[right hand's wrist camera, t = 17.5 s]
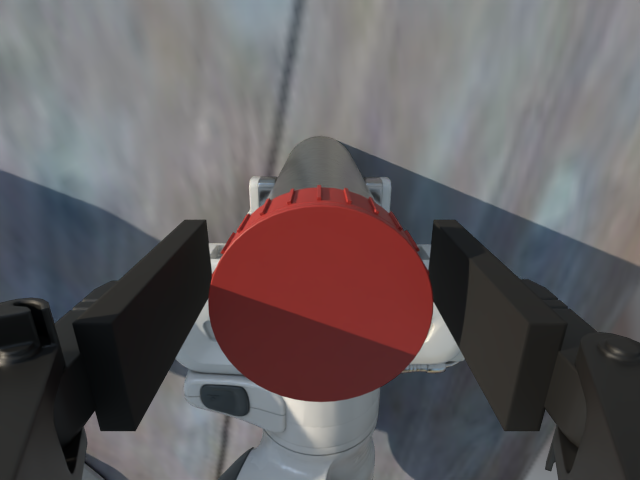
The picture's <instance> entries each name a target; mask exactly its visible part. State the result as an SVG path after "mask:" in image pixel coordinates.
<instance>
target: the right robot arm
mask: <svg viewBox="0 0 640 480" xmlns="http://www.w3.org/2000/svg"><path fill="white" fill-rule="evenodd" d="M428 271H429V277H430V281H431V285H432V291H433V300H434V304H435V306H436V307H437V309H438V311H439V313H440V315H441V316H442V318H443V320H444V322H445V324H446V326H447V327H448V329H449V331H450V333H451V335H452V336H453V338H454V340H455V342H456V344H457V346H458V347H459V349H460V351H461V353H462V355H463V356H464V358H465V360H466V362H467V364H468V365H469V367H470V369H471V371H472V373H473V375H474V376H475V378H476V380H477V382H478V384H479V385H480V387H481V389H482V391H483V393H484V395H485V396H486V398H487V400H488V402H489V404H490V405H491V407H492V409H493V411H494V413H495V415H496V416H497V418H498V420H499V422H500V424H501V425H502V427H503V429H504V431H540V427H541V423H542V419H543V416H544V412H545V409H546V410H547V412H548V413H549V415H550V416H551V417H552V419H553V420H554V422H555V423H556V424H557V426H556V429H555V433H554V436H553V440H552V443H551V447H550V451H549V454H548V457H547V461H546V467H545V469H546V470H548V471H551V470H552V466H553V463H554V462H556V467H557V474H558V480H640V343H639V342H637V341H634V340H632V339H630V338H627V337H623V336H619V335H616V334H611V333H602V332H597V331H596V330H594V329H593V328H592V327H591V326H590V325H589V324H587V323H586V322H585V321H584V320H583V319H582V318H580V317H579V316H578V315H577V314H576V313H575V312H573V311H572V310H571V309H568V307H567V306H566V305H565V304H564V303H563V302H562V301H560V300H558V298H557V297H556V296H555V295H553V294H552V293H551V292H550V291H549V290H548V289H546V288H545V287H543V286H541V285H539V284H537V283H535V282H533V281H531V280H529V279H519V278H518V277H517V276H516V275H515V274H514V273H513V272H512V271H510V270H509V269H508V268H507V267H506V266H505V265H504V264H503V263H502V262H501V261H500V260H498V259H497V258H496V257H495V256H494V255H493V254H492V253H491V252H490V251H489V250H488V249H486V248H485V247H484V246H483V245H482V244H481V243H480V242H479V241H478V240H477V239H476V238H475V237H473V236H472V235H471V234H470V233H469V232H468V231H467V230H466V229H465V228H464V227H463V226H461V225H460V224H459V223H458V222H457V221H456V220H434V223H433V232H432V241H431V250H430V259H429V268H428ZM211 276H212V268H211V259H210V250H209V241H208V232H207V223H206V220H184V221H183V222H182V223H181V224H180V225H179V226H177V227H176V228H175V229H174V230H173V231H172V232H171V233H170V234H169V235H168V236H167V237H165V238H164V239H163V240H162V241H161V242H160V243H159V244H158V245H157V246H156V247H155V248H154V249H152V250H151V251H150V252H149V253H148V254H147V255H146V256H145V257H144V258H143V259H142V260H140V261H139V262H138V263H137V264H136V265H135V266H134V267H133V268H132V269H131V270H130V271H128V272H127V273H126V274H125V275H124V276H123V277H122V278H121V279H120V280H119V281H110V282H108V283H106V284H104V285H102V286H100V287H98V288H96V289H94V290H93V291H92V292H91V293H90V294H89V295H87V296H86V297H85V298H84V299H83V301H82V302H79V303H78V304H77V305H76V306H75V307H73V310H70V311H69V312H68V313H66V314H65V315H64V316H63V317H62V318H61V319H59V320H58V321H57V322H56V323H55V324H54V321H53V317H52V314H51V310H50V307H49V303H48V302H47V301H45V300H43V299H38V298H23V299H15V300H10V301H6V302H2V303H0V480H82V475H83V468H84V462H85V455H86V449H87V437H86V433H85V429H84V425H85V424H86V422H87V421H88V420H89V418H90V417H91V415H92V414H93V413H94V411H95V412H96V416H97V419H98V423H99V427H100V431H136V429H137V427H138V425H139V424H140V422H141V420H142V418H143V416H144V415H145V413H146V411H147V409H148V407H149V405H150V404H151V402H152V400H153V398H154V396H155V395H156V393H157V391H158V389H159V387H160V385H161V384H162V382H163V380H164V378H165V376H166V375H167V373H168V371H169V369H170V367H171V365H172V364H173V362H174V360H175V358H176V356H177V355H178V353H179V351H180V349H181V347H182V346H183V344H184V342H185V340H186V338H187V336H188V335H189V333H190V331H191V329H192V327H193V326H194V324H195V322H196V320H197V318H198V316H199V315H200V313H201V311H202V309H203V307H204V306H205V304H206V302H207V300H208V297H209V288H210V284H211V280H212V277H211Z"/></svg>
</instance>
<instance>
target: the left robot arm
mask: <svg viewBox="0 0 640 480" xmlns="http://www.w3.org/2000/svg"><path fill="white" fill-rule="evenodd" d="M363 179H364V181H365V183H366V184H367V186H368V188H369V190H370V192H371V194H372V196H373V198H374V200H375V202H376V204H378V205H379V206H381V207H382V208H384V209H385V210H386V211H387V212H388V213H389V212H390V211H391V210H390V201H391V181H390V179H389V178H388V177H364V178H363ZM276 180H277V177H261V176H256V177H252V178H251V180H250V185H249V192H250V208H251V209H250V210H249V212H248V213H249V214H250V215H251V214H252V213H253V212H254V211H255V210H257V209H258V208H259V207H261V206H262V205H264V203H265V201H266V200H267V198H268V196H269V194H270V192H271V190H272V188H273V186H274V184H275V182H276ZM225 244H226V243H209V250H210V259H211V268H212V273H213V272H214V270H215V268H216V267H217V264H218V262H219V260H220V259H221V257H222V255H223V254H221V251H222V249H223V248H224V246H225ZM416 245H417V246H418V248H419V250H420V251H418V252H417V253H418V254H419V256H420V258H421V259H422V261H423V263H424V264H425V266H426V268H427V269H428V268H429V259H430V250H431V244H416ZM175 359H176V360H177V361H178V362H179V363H180V364H181V365H183V366H184V367H186V368H188V372H187V375H186V379H185V382H184V396H185V399H186V401H187V402H188V403H189V404H190V405H192V406H194V407H197V408H201V409H205V410H209V411H213V412H217V413H220V414H224V415H227V416H231V417H234V418H237V419H240V420H243V421H246V422H248V423H251V424H253V425H256V426H258V427H260V428H263V435H262V439H261V442H260V445H259V446H258V447H257V448H254V447H252V448H251V449H249V450H248V451H246V452H245V453H244V454H243V455H242V456H240V457H239V458H238V459H237V460H236V461H235V462H234V463H233V464H232V465H231V466H230V467H229V468H228V469H227V470H226V471H225V472H224V473H223V474H222V476H221V477H220V478H219V479H218V480H373V475H374V465H375V447H374V442H373V438H372V435H373V432H374V430H375V428H376V424H377V420H378V412H379V398H380V388H378V389H376V390H374V391H372V392H369V393H367V394H364V395H361V396H358V397H354V398H351V399H347V400H340V401H334V402H308V401H301V400H295V399H291V398H287V397H283V396H280V395H278V394H275V393H272V392H270V391H268V390H266V389H264V388H262V387H260V386H258V385H256V384H255V383H253V382H252V381H250V380H249V379H247V378H246V377H245V376H244V375H243V374H242V373H240V372H239V371H238V370H237V369H236V368H235V367H234V366H233V365H232V364H231V362H230V361H229V360H228V359H227V357H226V356H225V355H224V353H223V352H222V350H221V348H220V346H219V345H218V343H217V341H216V339H215V336H214V333H213V330H212V327H211V323H210V318H209V310H208V300H207V302H206V304H205V306H204V307H203V309H202V311H201V313H200V315H199V316H198V318H197V320H196V322H195V324H194V326H193V327H192V329H191V331H190V333H189V335H188V336H187V338H186V340H185V342H184V344H183V346H182V347H181V349H180V351H179V353H178V355H177V356H176V358H175ZM463 360H465V358H464V356H463V355H462V353H461V351H460V349H459V347H458V346H457V344H456V342H455V340H454V338H453V336H452V335H451V333H450V331H449V329H448V327H447V326H446V324H445V322H444V320H443V318H442V316H441V315H440V313H439V311H438V309H437V307H436V306H435V304H434V302H433V316H432V321H431V326H430V329H429V332H428V335H427V338H426V340H425V342H424V344H423V346H422V348H421V350H420V351H419V352H418V354H417V355H416V357H415V358H414V360H413V361H412V362H411V363H410V364H409V365H408V366H407V367H406V369H405V370H403V371H402V372H401V373H411V372H426V373H441V372H445V370H446V367H451V366H453V365H456V364H457V363H459V362H460V361H463Z"/></svg>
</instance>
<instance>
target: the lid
mask: <svg viewBox="0 0 640 480" xmlns="http://www.w3.org/2000/svg"><path fill="white" fill-rule="evenodd" d="M418 251H420V250H419V248H418V246H417V245H416V243H415V242H414V240H413V239H412V237H411V236H410V234H409V232H408V231H407V230H406V231H404V230H403V228H402V227H401V225H400V223H399V222H398V220H397V219H396V217H395V215H394V214H393V213H392V212H391V211H390V212H389V213H388V212H387V211H386V210H385V209H384V208H382V207H381V206H379V205H378V204H376V203H375V202H374V200H373V198H371V197H369V198H366V197H364V196H362V195H359V194H356V193H353V192H350V191H349V190H348V188H344V190H341V189H336V188H325V187H321V185H317V188H305V189H300V190H295V189H294V188H293V189H291V190H290V192H288V193H286V194H283V195H280V196H278V197H276V198H274V199H272V200H270V198H268V199H267V200H266V201H265V203H264V205H262V206H261V207H259V208H258V209H257V210H255V211H254V212H253V213H252V214H251V215H250V214H249V213H248V214H247V215H246V217H245V218H244V220H243V221H242V223H241V225H240V226H239V228H238V230H237V233H236V234H235V233H234V232H233V233H232V235H231V237H230V238H229V240H228V241H227V243H226V244H225V246H224V248H223V249H222V251H221V254H223V255H222V257H221V259H220V260H219V262H218V264H217V267H216V268H215V270H214V272H213V273H212V276H211V277H212V280H211V284H210V288H209V297H208V310H209V318H210V323H211V327H212V330H213V333H214V336H215V339H216V341H217V343H218V345H219V346H220V348H221V350H222V352H223V353H224V355H225V356H226V357H227V359H228V360H229V361H230V362H231V364H232V365H233V366H234V367H235V368H236V369H237V370H238V371H239V372H240V373H242V374H243V375H244V376H245V377H246V378H247V379H249V380H250V381H252V382H253V383H255V384H256V385H258V386H260V387H262V388H264V389H266V390H268V391H270V392H272V393H275V394H278V395H280V396H283V397H287V398H291V399H295V400H301V401H308V402H334V401H340V400H347V399H351V398H354V397H358V396H361V395H364V394H367V393H369V392H372V391H374V390H376V389H378V388H380V387H382V386H383V385H385V384H387V383H388V382H390V381H391V380H393V379H394V378H395V377H397V376H398V375H399V374H400V373H401V372H402V371H403V370H405V369H406V367H407V366H408V365H409V364H410V363H411V362H412V361H413V360H414V358H415V357H416V355H417V354H418V352H419V351H420V350H421V348H422V346H423V344H424V342H425V340H426V338H427V335H428V332H429V329H430V326H431V321H432V316H433V302H434V300H433V291H432V285H431V281H430V277H429V271H428V269H427V268H426V266H425V264H424V263H423V261H422V259H421V258H420V256H419V254H418V253H417V252H418Z"/></svg>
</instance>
